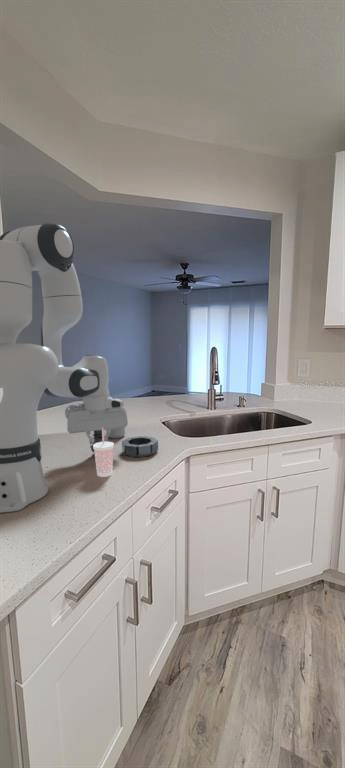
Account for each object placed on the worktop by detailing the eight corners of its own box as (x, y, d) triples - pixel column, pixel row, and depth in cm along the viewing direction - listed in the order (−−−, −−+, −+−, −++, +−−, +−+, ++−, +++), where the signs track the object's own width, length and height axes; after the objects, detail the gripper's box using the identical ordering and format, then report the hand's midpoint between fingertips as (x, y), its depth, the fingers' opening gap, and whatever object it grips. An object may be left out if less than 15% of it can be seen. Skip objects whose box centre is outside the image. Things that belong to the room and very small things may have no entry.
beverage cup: (93, 471, 102) (90, 426, 101) (113, 468, 105) (111, 424, 103) (96, 479, 97) (93, 431, 95) (117, 475, 99) (115, 429, 97)
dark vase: (104, 458, 113) (102, 423, 112) (87, 458, 115) (85, 423, 113) (110, 453, 119) (109, 419, 118) (95, 452, 120) (93, 419, 119)
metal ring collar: (127, 459, 112) (127, 448, 112) (119, 448, 123) (119, 438, 123) (161, 454, 116) (161, 443, 116) (151, 444, 128) (151, 434, 127)
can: (127, 433, 143) (125, 405, 142) (122, 439, 136) (121, 409, 134) (109, 433, 144) (108, 406, 142) (104, 438, 136) (103, 409, 135)
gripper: (65, 407, 108) (67, 449, 110) (128, 401, 115) (129, 441, 117) (64, 404, 114) (66, 443, 116) (123, 398, 121) (125, 436, 123)
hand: (98, 442), depth 116 cm, fingers closed on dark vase, 3 cm apart
